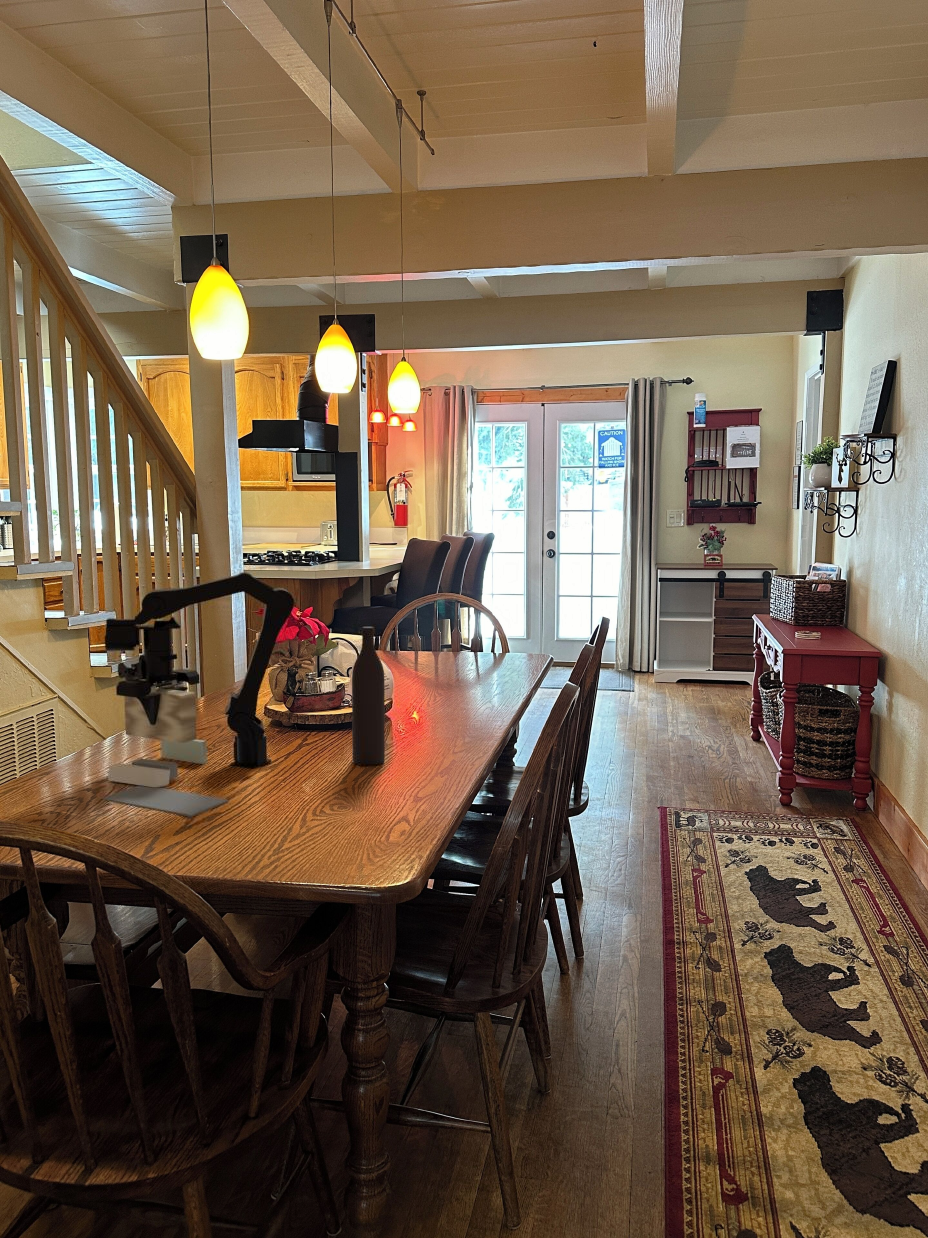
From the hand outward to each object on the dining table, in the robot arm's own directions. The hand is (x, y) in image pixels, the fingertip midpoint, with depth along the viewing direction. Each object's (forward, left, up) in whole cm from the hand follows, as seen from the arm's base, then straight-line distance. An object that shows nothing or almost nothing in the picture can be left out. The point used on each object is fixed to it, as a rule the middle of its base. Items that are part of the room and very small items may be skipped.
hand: (160, 722), depth 196 cm
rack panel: (+1, -8, -10) cm, 13 cm away
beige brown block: (0, 0, -3) cm, 3 cm away
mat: (-16, +16, -10) cm, 25 cm away
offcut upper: (-3, +6, -9) cm, 11 cm away
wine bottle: (-36, -25, -10) cm, 45 cm away
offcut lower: (-3, +10, -10) cm, 15 cm away
